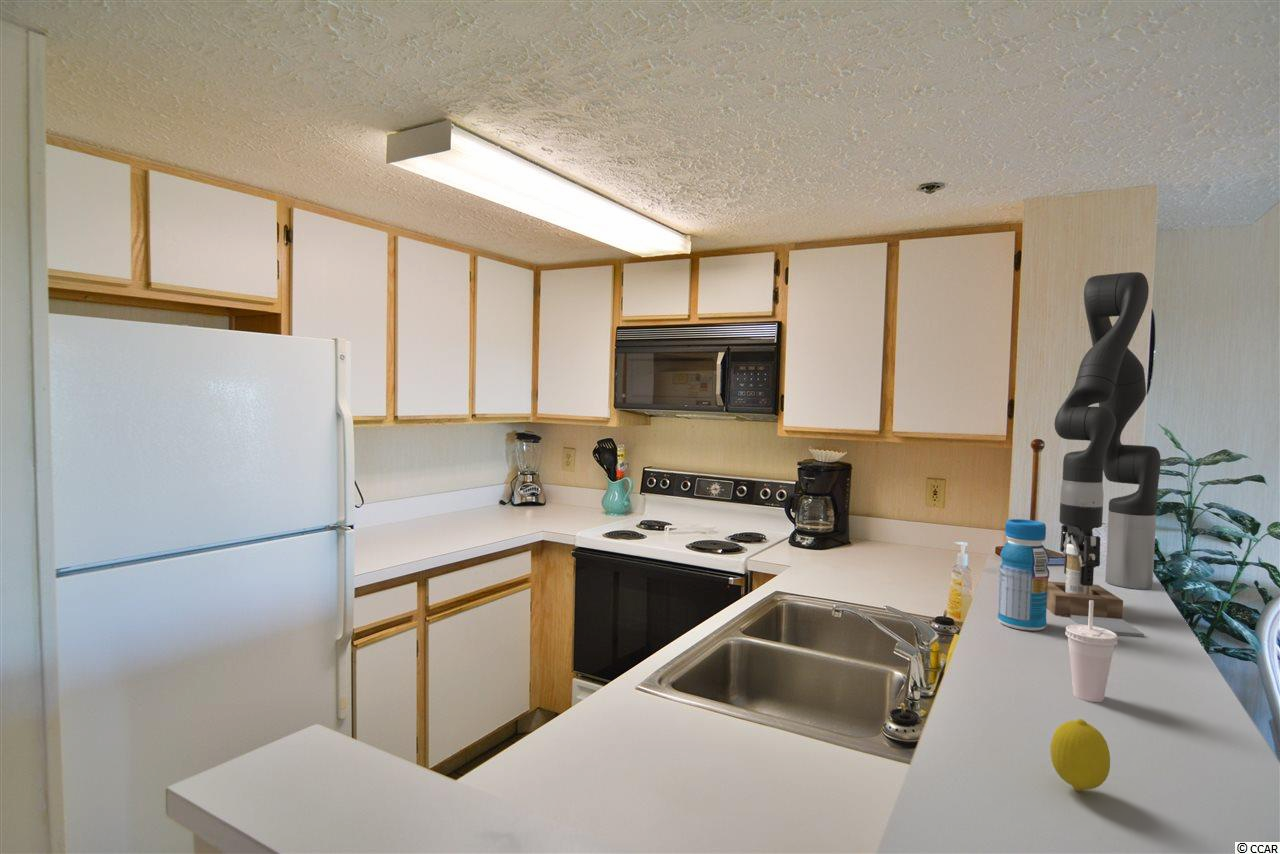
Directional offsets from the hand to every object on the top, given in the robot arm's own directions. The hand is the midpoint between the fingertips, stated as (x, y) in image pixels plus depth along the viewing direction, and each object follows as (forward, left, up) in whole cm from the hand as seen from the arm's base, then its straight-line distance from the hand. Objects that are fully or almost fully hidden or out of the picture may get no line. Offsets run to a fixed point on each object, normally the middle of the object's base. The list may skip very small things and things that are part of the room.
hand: (1077, 580), depth 144 cm
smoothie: (+48, -15, -6) cm, 51 cm away
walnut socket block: (0, 0, -6) cm, 6 cm away
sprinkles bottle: (0, 0, -6) cm, 6 cm away
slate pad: (+11, +1, -6) cm, 13 cm away
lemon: (+76, -26, -6) cm, 81 cm away
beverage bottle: (+15, -14, -6) cm, 22 cm away
